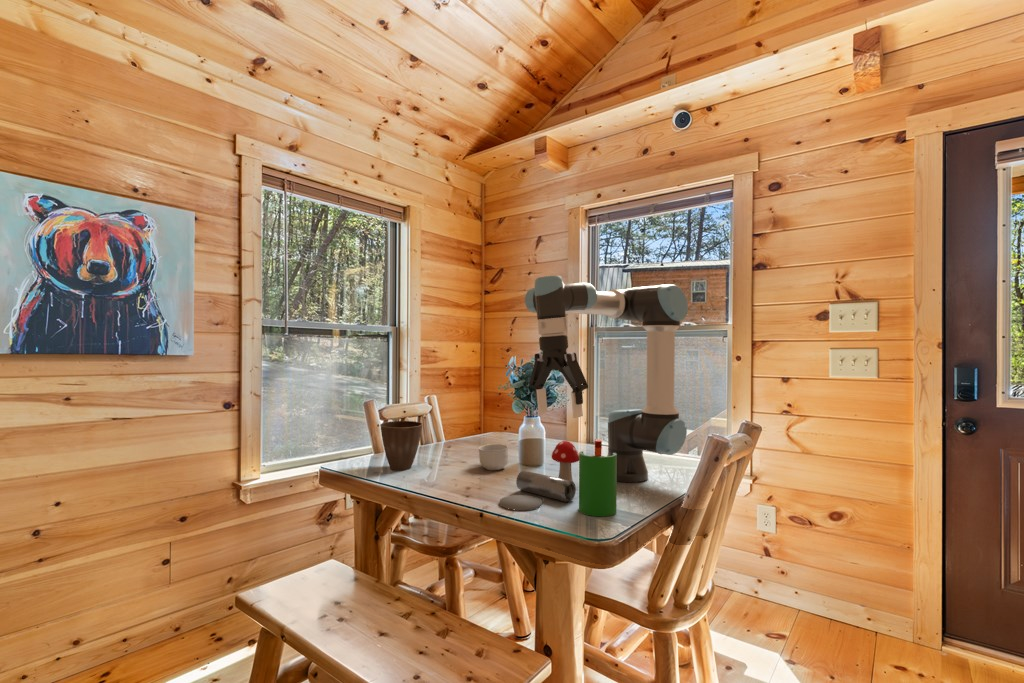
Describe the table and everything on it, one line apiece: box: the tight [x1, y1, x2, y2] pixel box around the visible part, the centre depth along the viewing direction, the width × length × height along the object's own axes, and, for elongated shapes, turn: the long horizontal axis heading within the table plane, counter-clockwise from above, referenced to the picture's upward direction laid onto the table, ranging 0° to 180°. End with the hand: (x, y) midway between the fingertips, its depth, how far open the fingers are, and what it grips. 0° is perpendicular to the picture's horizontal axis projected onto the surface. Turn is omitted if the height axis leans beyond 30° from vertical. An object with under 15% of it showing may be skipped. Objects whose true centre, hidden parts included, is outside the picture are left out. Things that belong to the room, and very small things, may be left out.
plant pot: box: [380, 420, 423, 471], centre depth 189 cm, size 15×15×16 cm
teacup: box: [478, 443, 509, 471], centre depth 191 cm, size 14×11×8 cm
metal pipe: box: [516, 470, 577, 503], centre depth 156 cm, size 6×18×6 cm, turn 47°
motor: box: [578, 438, 618, 517], centre depth 142 cm, size 10×9×20 cm
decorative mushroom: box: [551, 440, 579, 482], centre depth 163 cm, size 10×9×15 cm
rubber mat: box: [499, 494, 543, 511], centre depth 148 cm, size 12×12×1 cm
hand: (559, 414), depth 138 cm, fingers open, 13 cm apart
